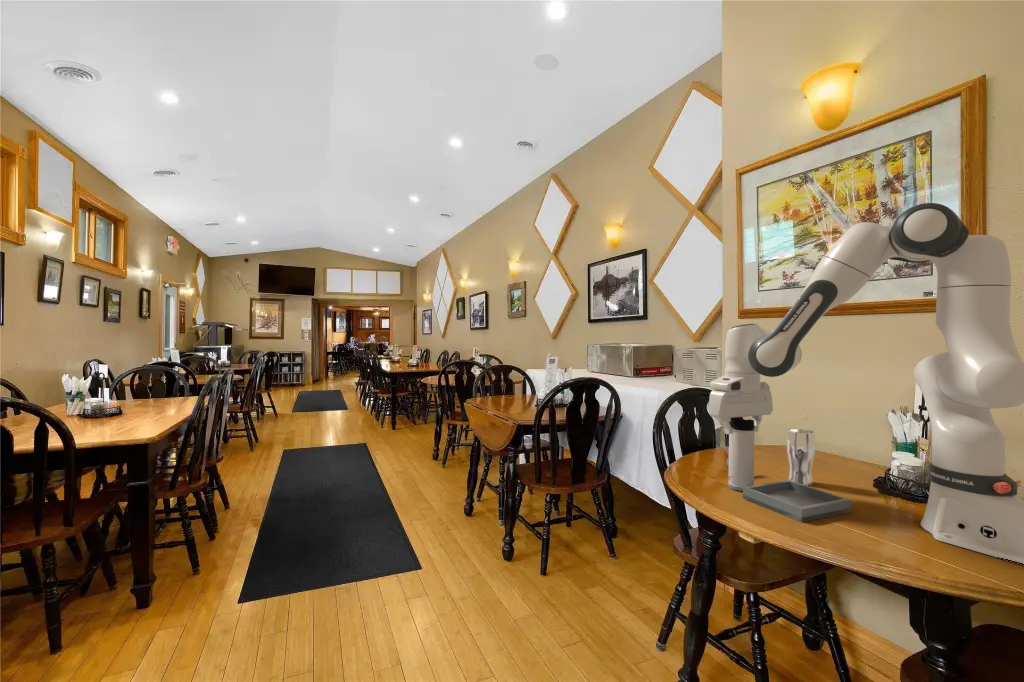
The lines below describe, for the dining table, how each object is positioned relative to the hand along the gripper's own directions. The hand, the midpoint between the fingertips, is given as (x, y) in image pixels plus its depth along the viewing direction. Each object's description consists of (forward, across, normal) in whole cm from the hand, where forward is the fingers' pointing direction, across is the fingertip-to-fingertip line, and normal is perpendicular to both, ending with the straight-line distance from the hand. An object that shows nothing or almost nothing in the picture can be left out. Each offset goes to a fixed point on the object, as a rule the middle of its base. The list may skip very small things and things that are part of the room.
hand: (741, 432), depth 126 cm
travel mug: (+16, 0, 0) cm, 16 cm away
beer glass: (+16, -21, +2) cm, 26 cm away
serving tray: (+16, -2, +14) cm, 21 cm away
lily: (+16, -9, -10) cm, 21 cm away
